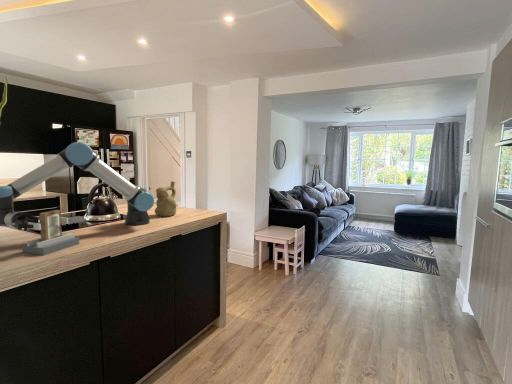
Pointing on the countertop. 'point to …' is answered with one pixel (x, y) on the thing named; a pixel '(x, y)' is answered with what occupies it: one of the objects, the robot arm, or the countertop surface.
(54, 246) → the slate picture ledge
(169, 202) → the ceramic vessel
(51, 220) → the walnut photo frame
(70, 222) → the play button award
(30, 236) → the countertop surface
